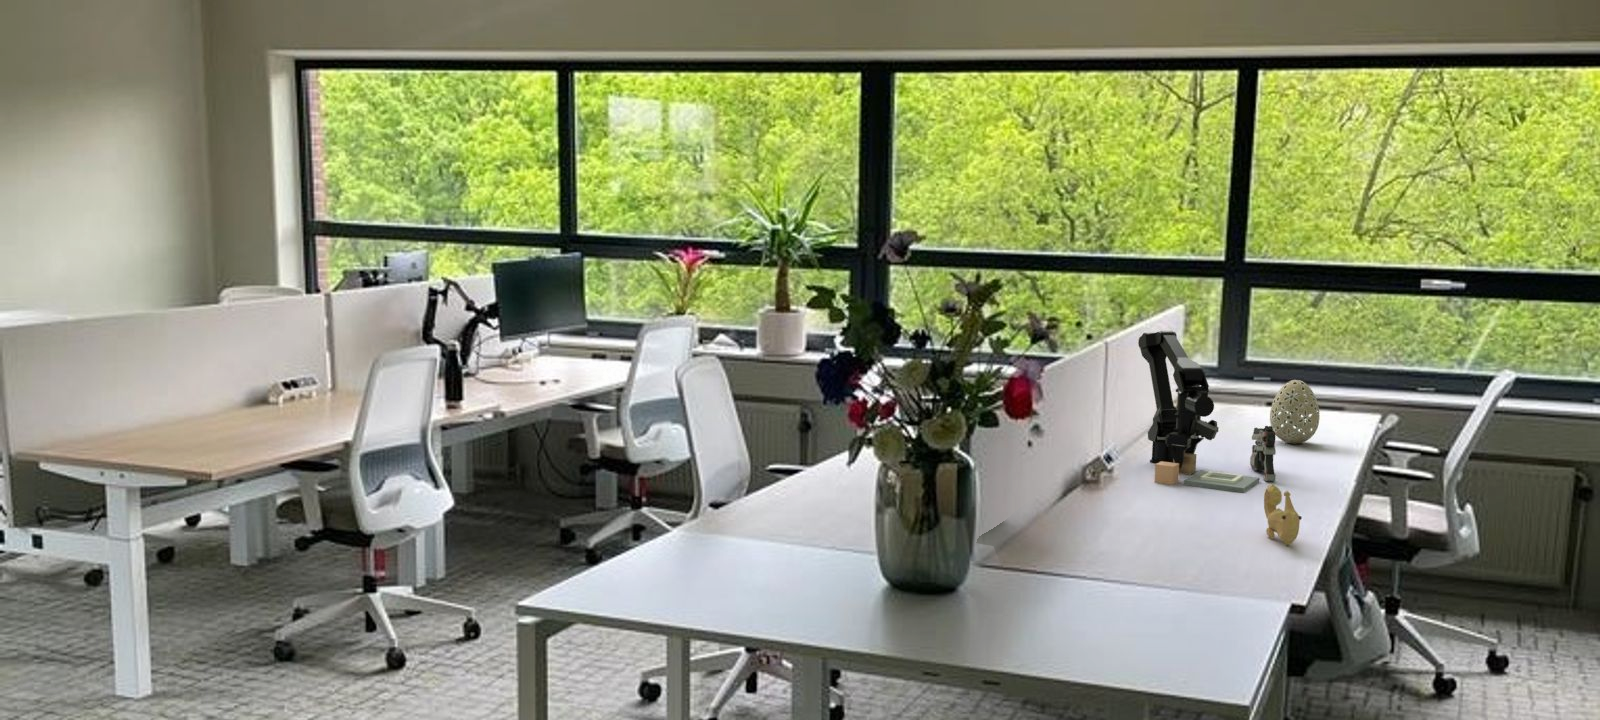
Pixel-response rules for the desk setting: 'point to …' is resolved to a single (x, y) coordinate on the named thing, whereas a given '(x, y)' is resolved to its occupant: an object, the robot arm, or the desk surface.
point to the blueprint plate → (1221, 481)
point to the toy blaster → (1263, 452)
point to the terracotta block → (1166, 472)
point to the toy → (1280, 515)
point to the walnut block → (1188, 464)
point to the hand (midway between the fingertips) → (1184, 465)
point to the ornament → (1294, 413)
